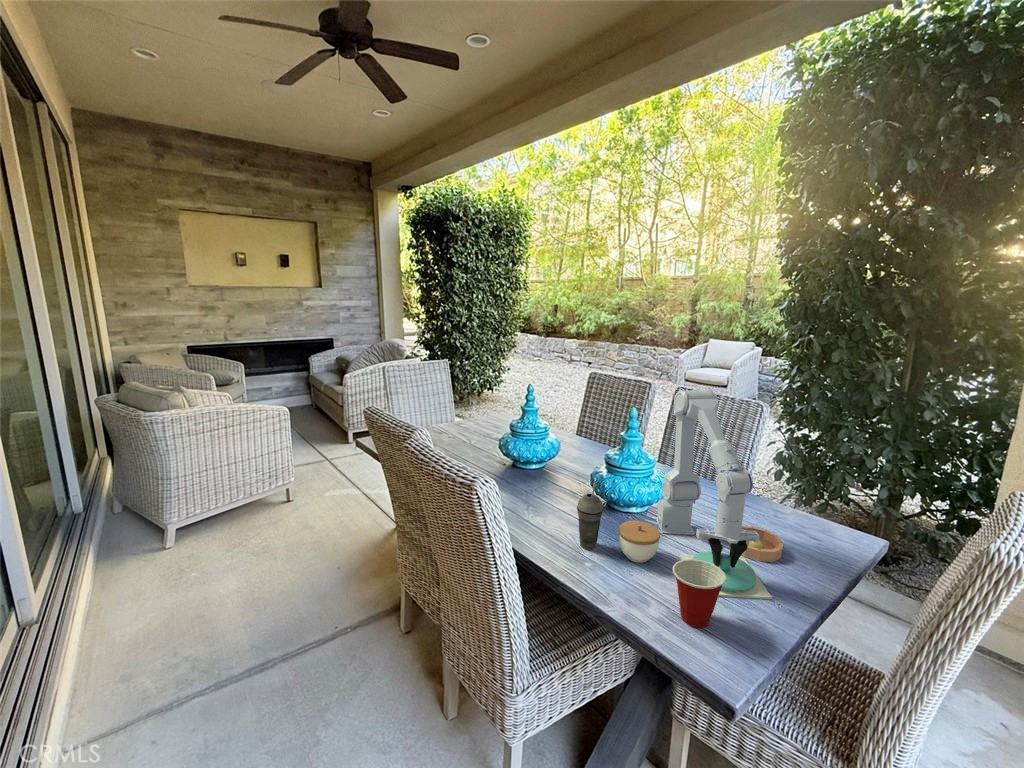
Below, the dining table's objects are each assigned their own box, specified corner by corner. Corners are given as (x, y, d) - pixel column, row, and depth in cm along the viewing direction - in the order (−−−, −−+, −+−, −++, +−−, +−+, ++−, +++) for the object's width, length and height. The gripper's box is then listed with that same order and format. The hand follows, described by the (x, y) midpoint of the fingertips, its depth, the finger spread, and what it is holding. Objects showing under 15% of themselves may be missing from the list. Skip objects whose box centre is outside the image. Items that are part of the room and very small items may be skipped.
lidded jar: (651, 573, 118) (654, 540, 116) (611, 559, 123) (613, 528, 121) (662, 552, 127) (665, 521, 125) (624, 541, 132) (626, 511, 130)
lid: (700, 587, 110) (702, 572, 109) (685, 552, 125) (686, 537, 124) (766, 593, 108) (768, 577, 107) (742, 556, 123) (744, 542, 122)
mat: (698, 595, 110) (698, 593, 109) (679, 556, 125) (679, 554, 125) (771, 599, 108) (772, 597, 108) (743, 559, 124) (743, 557, 124)
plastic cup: (685, 595, 109) (690, 550, 107) (729, 621, 101) (735, 573, 98) (658, 615, 103) (662, 567, 100) (702, 644, 95) (708, 594, 92)
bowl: (740, 563, 124) (741, 550, 123) (722, 536, 136) (723, 525, 136) (790, 565, 123) (792, 552, 122) (767, 539, 135) (769, 527, 135)
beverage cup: (585, 535, 135) (588, 472, 130) (606, 545, 130) (610, 480, 125) (569, 545, 130) (572, 479, 125) (591, 556, 125) (594, 488, 120)
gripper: (705, 523, 110) (699, 573, 113) (767, 525, 109) (760, 576, 112) (695, 508, 117) (690, 556, 120) (754, 511, 115) (748, 559, 118)
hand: (723, 565), depth 116 cm, fingers open, 3 cm apart
